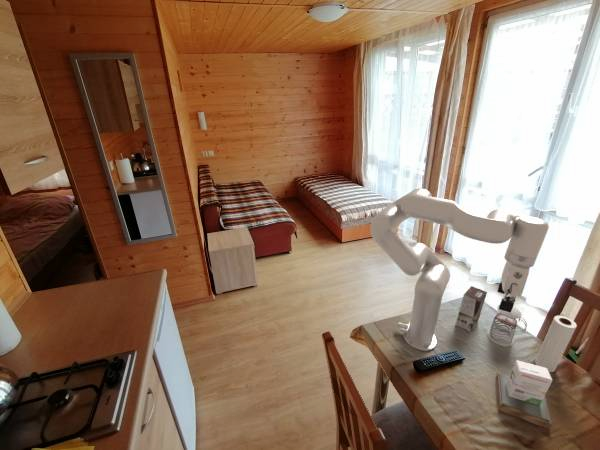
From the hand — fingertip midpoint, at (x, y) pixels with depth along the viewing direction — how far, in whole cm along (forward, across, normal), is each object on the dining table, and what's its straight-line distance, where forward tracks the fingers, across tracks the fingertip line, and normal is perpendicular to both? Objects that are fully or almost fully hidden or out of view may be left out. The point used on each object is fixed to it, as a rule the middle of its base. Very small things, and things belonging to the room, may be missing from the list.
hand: (503, 301), depth 97 cm
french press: (+30, +19, -8) cm, 37 cm away
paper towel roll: (+30, +12, -21) cm, 38 cm away
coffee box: (+30, +22, +5) cm, 38 cm away
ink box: (+27, -10, -11) cm, 31 cm away
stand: (+30, -10, -12) cm, 33 cm away
